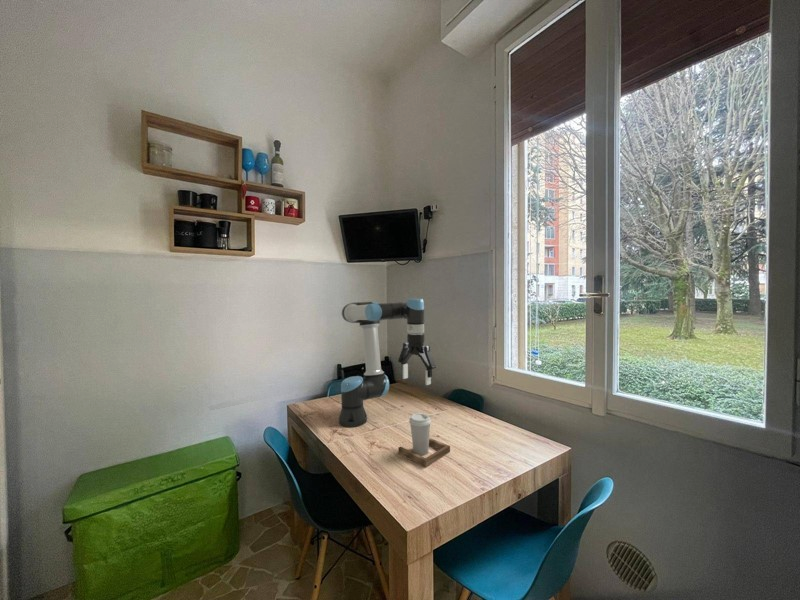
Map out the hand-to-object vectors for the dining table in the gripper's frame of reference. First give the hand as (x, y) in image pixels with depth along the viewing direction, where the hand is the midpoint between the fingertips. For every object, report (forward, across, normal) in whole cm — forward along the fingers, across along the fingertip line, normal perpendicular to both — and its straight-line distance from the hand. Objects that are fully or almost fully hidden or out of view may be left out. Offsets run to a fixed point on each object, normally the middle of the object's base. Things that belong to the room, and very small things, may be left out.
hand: (416, 381), depth 135 cm
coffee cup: (+30, +4, -2) cm, 30 cm away
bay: (+29, +5, -2) cm, 30 cm away
